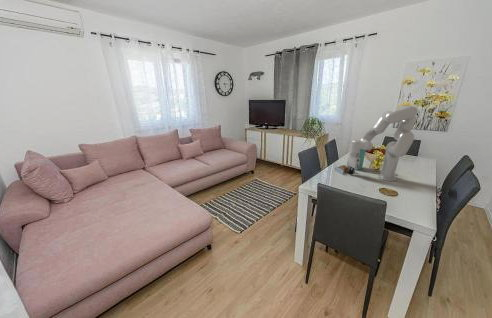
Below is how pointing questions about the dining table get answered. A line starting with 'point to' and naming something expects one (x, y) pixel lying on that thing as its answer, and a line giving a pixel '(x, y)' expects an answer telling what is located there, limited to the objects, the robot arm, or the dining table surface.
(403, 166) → the dining table surface
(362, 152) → the milk carton
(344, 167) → the block
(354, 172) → the bay
